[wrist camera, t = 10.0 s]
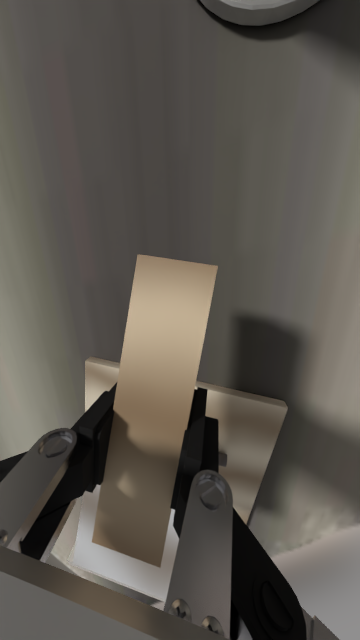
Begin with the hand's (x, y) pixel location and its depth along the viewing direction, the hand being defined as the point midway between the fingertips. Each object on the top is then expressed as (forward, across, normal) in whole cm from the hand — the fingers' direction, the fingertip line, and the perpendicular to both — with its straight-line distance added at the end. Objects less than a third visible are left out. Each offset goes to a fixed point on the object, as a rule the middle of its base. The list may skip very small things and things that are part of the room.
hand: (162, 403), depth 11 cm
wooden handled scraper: (0, 0, +3) cm, 3 cm away
